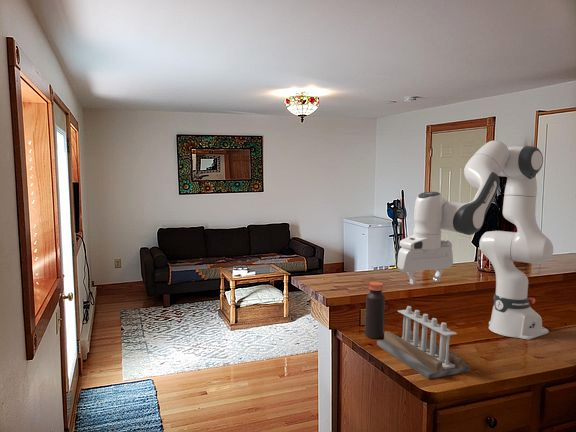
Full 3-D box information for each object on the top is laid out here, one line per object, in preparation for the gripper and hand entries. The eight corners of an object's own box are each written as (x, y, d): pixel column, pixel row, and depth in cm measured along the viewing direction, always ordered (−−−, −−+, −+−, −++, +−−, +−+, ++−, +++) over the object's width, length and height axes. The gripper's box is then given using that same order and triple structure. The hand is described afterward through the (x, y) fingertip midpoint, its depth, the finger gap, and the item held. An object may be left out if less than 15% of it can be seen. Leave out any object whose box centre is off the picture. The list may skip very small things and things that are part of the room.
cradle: (413, 339, 169) (414, 327, 169) (469, 371, 143) (470, 357, 143) (376, 344, 163) (377, 332, 163) (428, 378, 137) (428, 364, 137)
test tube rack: (395, 340, 163) (397, 304, 162) (406, 339, 165) (408, 303, 164) (443, 369, 140) (446, 327, 139) (455, 367, 142) (457, 326, 141)
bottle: (371, 340, 168) (373, 286, 165) (361, 333, 174) (363, 281, 172) (387, 337, 170) (389, 284, 168) (376, 331, 176) (378, 280, 174)
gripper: (445, 238, 158) (443, 277, 159) (395, 241, 150) (393, 282, 152) (458, 241, 152) (456, 282, 154) (407, 244, 144) (405, 287, 146)
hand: (424, 282), depth 153 cm, fingers open, 8 cm apart
